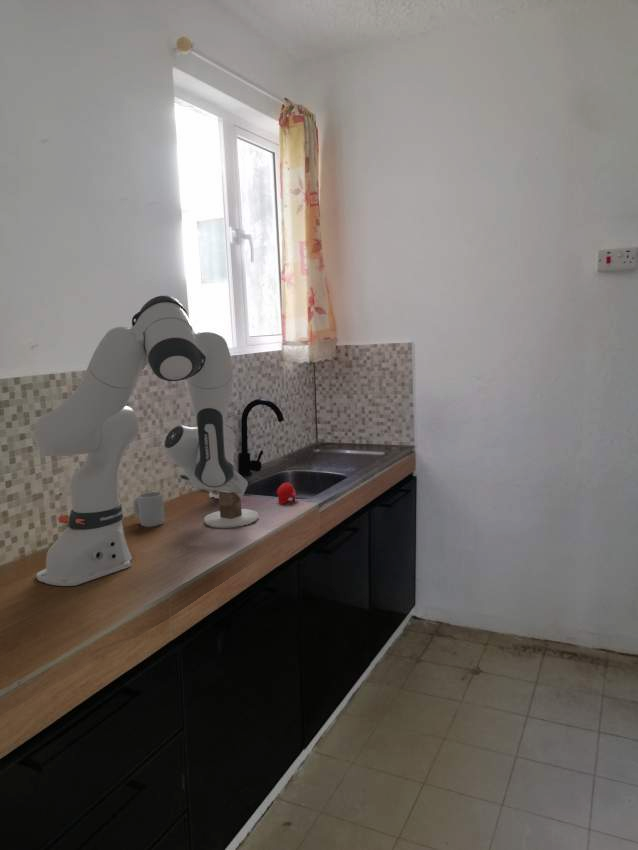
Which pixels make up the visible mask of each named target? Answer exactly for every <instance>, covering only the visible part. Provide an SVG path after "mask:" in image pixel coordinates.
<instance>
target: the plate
mask: <svg viewBox="0 0 638 850" xmlns="http://www.w3.org/2000/svg"><path fill="white" fill-rule="evenodd" d="M241 511H242V515H241V516H238V517H236V518H233V519H228V518H222V517H220V510H218V511H213V512H210V513H208V514H206V516H204V524H205V526H207V527H209V526H210V528H214V527H215V529H233V527H235V528H240V527H239V526H241V527H245V526H244V525H246V526H249V525H251V523H252V524H254V523H255V521H256V522H257V521H258V520H259V513H258V512H257V511H255V510H252V509H247V508H241ZM257 519H258V520H257ZM253 522H254V523H253ZM248 524H249V525H248Z"/></svg>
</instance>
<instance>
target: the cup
mask: <svg viewBox="0 0 638 850" xmlns="http://www.w3.org/2000/svg"><path fill="white" fill-rule="evenodd" d="M133 513H134V515H135V517H136V518H138V519H139V522H140V526H141V527H143V526H145V527H144V528H152V527H153V526H154V527H158V525H159V526H161V524H162V525H164V524H165V521H166V520H165V519H166V518H165V517H166V516H165V506H164V494H163V492H161V491H149V492H143V493H140V494H138V495H137V497H136V498H135V499H134V501H133Z"/></svg>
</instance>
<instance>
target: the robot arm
mask: <svg viewBox="0 0 638 850" xmlns="http://www.w3.org/2000/svg"><path fill="white" fill-rule="evenodd" d="M131 325H132V327H127V326H117V327H113V328H111V329H110V330H108V331H107V332H106V333H105V335H104V336H103V337H102V339H101V340H100V342H99V343H98V344H97V346H96V348H95V350H94V351H93V354H92V356H91V359H90V361H89V363H88V366H87V367H86V370H85V373H84V375H83V377H82V379H81V381H80V383H79V385H78V387H77V388H76V389H75V390H74V391H73V392H72V393H71V395H69V397H67V398H66V399H65V400H64V401H63V402H61V404H59V405H58V406H57V407H55V408H54V409H52V410H51V411H49V412H47V413H45V414H43V415H41V416H39V418H38V419H37V421H36V422H35V424H34V428H33V440H34V443H35V445H36V447H37V449H38V450H39V451H40V452H41V453H43V454H44V455H45V456H48V457H72V456H77V455H81V454H82V455H83V454H87V456H86V458H85V460H84V462H83V464H82V466H80V467H79V468H78V469H77V470H75V472H74V473H73V474H72V476H71V477H70V481H69V489H70V499H71V507H72V508H71V510H70V514H69V515H65V514H59V515H58V517H57V521H58V523H60V524H67V528H65V530H64V531H63V533H62V534H61V535H59V537H58V538H57V540H56V541H55V542H54V543H53V544H52V546H50V548H49V549H48V550H47V553H46V557H45V558H46V560H45V568H44V569H41V570H39V571H38V572H37V573H36V579H37V580H38V581H39V582H41V583H43V582H44V584H48V585H52V586H60V587H72V586H75V587H76V586H79V585H81V584H84V583H87V582H89V581H93V580H95V579H98V578H102V577H104V576H107V575H111V574H112V573H116V572H119V571H123V570H125V569H127V568H129V567H132V564H131V560H132V558H133V557H132V554H131V552H130V549H129V546H128V544H127V540H126V536H125V535H126V534H125V532H124V531H125V530H124V526H123V521H122V520H123V519H124V516H123V506H122V503H120V491H119V489H120V488H119V472H120V466H121V463H122V460H123V458H124V455H125V453H126V451H127V449H128V448H129V447H130V445H131V444H132V442H134V441H135V440H136V438H137V436H138V434H139V430H140V420H139V417H138V415H137V413H136V412H135V410H134V409H133V408H132V407H131V406H129V405H128V403H129V400H130V398H131V396H132V394H133V392H134V390H135V388H136V385H137V384H138V381H139V379H140V376H141V374H142V371H143V370H144V369H145V367H147V366H148V365H149V366H150V368H151V370H152V372H153V374H155V376H156V377H157V378H159V379H160V380H163V381H167V382H180V381H184V380H187V381H186V382H187V387H188V392H189V395H190V399H191V405H192V407H193V413H194V418H195V422H196V427H193V426H192V427H191V426H185V425H176V426H175V427H173V428H172V429H171V430H169V432H168V434H167V435H166V437H165V440H164V449H165V451H166V453H167V454H168V455H169V457H170V458H171V459H172V460H173V462H174V463H175V464H177V466H179V467H180V469H179V471H178V473H177V477H178V478H180V479H181V480H183V481H184V482H185V483H187V485H188V486H190V487H192V488H194V489H200V490H201V489H202V490H205V491H207V492H209V493H210V492H211V493H212V494H213V495H218V493H219V491H226V492H234V493H236V494H235V496H237V498H241V499H242V498H244V497H243V496H244V495H245V492H246V490H247V488H248V485H249V482H248V481H247V479H246V478H244V477H243V475H241V474H240V472H237V471H236V470H235V469H234V457H235V441H236V440H235V437H236V435H235V433H236V432H235V431H234V430H233V428H232V427H231V426H230V425H228V424H226V419H227V415H228V411H229V406H230V401H231V397H232V391H233V382H234V375H233V374H234V373H233V361H232V358H231V353H230V350H229V346H228V343H227V340H226V339H225V338H224V337H223V336H222V335H221V334H219V333H218V332H216V331H213V330H202V331H199V332H196V331H195V330H193V326H192V324H191V321H190V319H189V317H188V312H187V310H186V308H185V306H184V305H183V304H182V303H181V302H180V301H179V300H178V299H177V298H175V297H172V296H171V295H170V296H169V295H158V296H155V297H152V298H151V299H149V300H148V301H146V302H145V304H143V306H142V307H141V308H140V310H139V311H138V312H137V313H135V314H134V315H133V317H132V318H131Z"/></svg>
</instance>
